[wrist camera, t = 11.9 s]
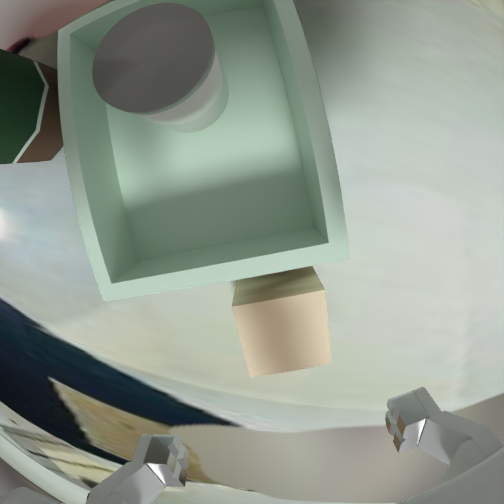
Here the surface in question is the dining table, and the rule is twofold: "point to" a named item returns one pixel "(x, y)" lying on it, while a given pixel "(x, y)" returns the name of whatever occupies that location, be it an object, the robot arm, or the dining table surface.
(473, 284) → the dining table surface
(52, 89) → the beer bottle
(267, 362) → the beech cube
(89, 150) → the tote
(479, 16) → the dining table surface
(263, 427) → the dining table surface
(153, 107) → the white jar
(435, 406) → the robot arm
